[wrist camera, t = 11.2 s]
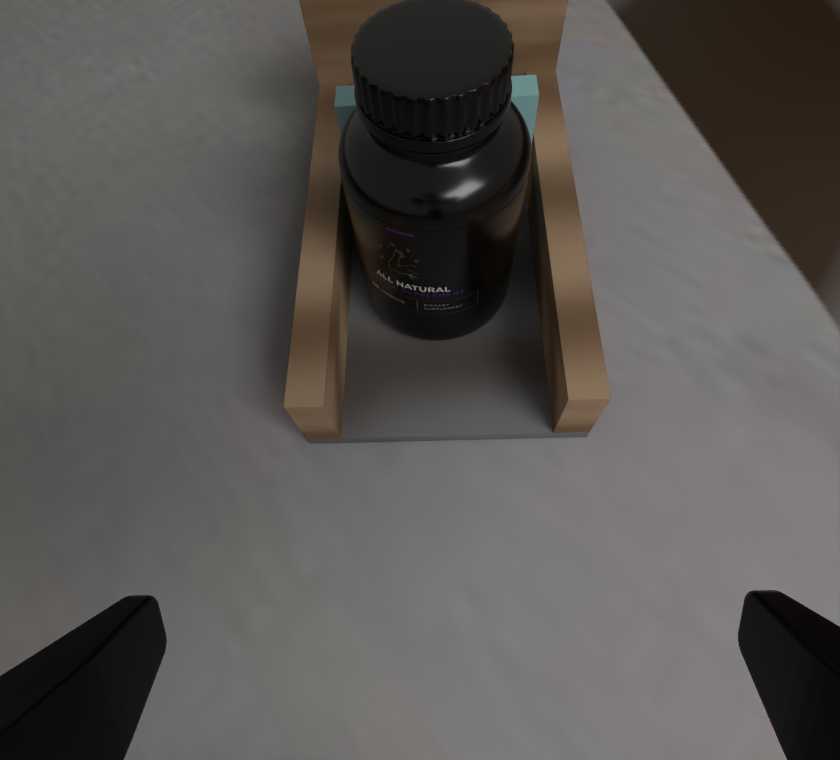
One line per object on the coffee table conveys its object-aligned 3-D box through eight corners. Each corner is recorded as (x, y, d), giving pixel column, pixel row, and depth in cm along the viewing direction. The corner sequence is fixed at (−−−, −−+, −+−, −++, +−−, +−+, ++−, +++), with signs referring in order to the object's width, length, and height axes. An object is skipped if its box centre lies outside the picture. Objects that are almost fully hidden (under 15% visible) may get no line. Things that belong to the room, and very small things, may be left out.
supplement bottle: (390, 364, 25) (339, 152, 14) (354, 251, 28) (288, 2, 17) (532, 322, 25) (588, 85, 15) (482, 215, 28) (498, -49, 17)
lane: (586, 436, 23) (650, 336, 16) (310, 443, 24) (240, 349, 16) (541, 119, 32) (568, -49, 24) (337, 130, 32) (299, -30, 25)
